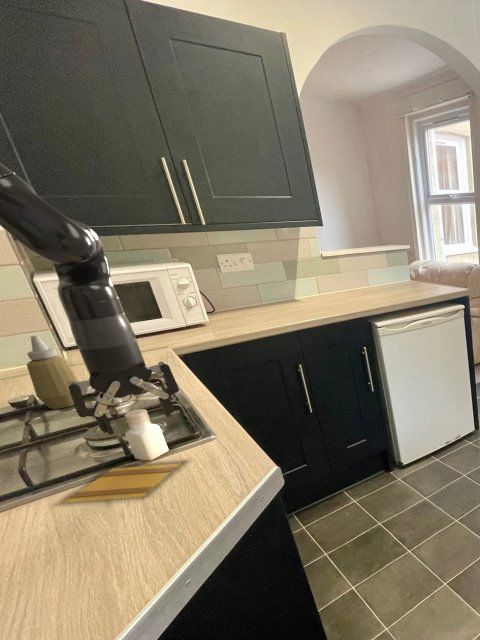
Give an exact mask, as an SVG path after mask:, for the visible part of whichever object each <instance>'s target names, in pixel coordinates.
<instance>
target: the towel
mask: <svg viewBox="0 0 480 640" xmlns="http://www.w3.org/2000/svg"><path fill="white" fill-rule="evenodd" d="M180 465H181V463H169V464H156V465H154V464H153V465H145V466H144V465H143V466H140V465H139V466H129V467H114V468H113V467H112V468H111V469H109V470H108V471H106V472H104V473H103V474H102V475H100V477H98V478H97V479H96V480H94V481H93V482H91V483H90V484H88V485H87V486H86V487H84V488H82V489H80V491H77V492H75V493H74V494H72V496H70V498H69V499H67V500H65V501H64V503H65V504H67V503H78V502H79V503H80V502H92V501H103V500H117V499H131V498H132V499H133V498H143V497H144V496H145V495H146V494H148V493H149V492H150V491H151V490H152V489H153V488H154V487H155V486H157V485H158V484H159V483H160V482H161V481H163V480H164V479H165V478H166V477H167V476H168V475H170V474H171V473H172V472H173V471H174V470H176V469H177V468H178V467H179V466H180Z"/></svg>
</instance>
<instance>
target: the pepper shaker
mask: <svg viewBox="0 0 480 640" xmlns="http://www.w3.org/2000/svg"><path fill="white" fill-rule="evenodd" d="M149 415H150V414H149V413H148V410H147V409H144V408H142V409H141V408H140V409H135V410H134V409H133V410H131V411H129V412H127V413H125V414H124V418H125V421H126V423H127V425H128V427H129V429H128V430H127V431H126V432H125V433H124V435H125V438H126V440H127V442H128V445H129V447H130V450H131V452H132V455H133V456H134V459H135V460H141V461H152V460H154V459H156V458H158V457H160V456H162V455H164V454H165V453H167V452H169V450H170V449H169V447H168V444H167V442H166V439H165V437H164V434H163V431H162V429H161V426H160V425H159V424H156V423H152V422H151V419H150V418H151V417H150V416H149Z"/></svg>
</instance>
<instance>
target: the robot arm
mask: <svg viewBox="0 0 480 640" xmlns="http://www.w3.org/2000/svg"><path fill="white" fill-rule="evenodd" d="M0 227H1V228H3V230H5V231H6V232H7V233H8V234H9V235H11V236H12V237H13V238H14V239H15V240H17V241H18V242H19V243H21V245H23V246H24V247H25V248H27V249H28V250H30V251H32V252H33V253H34V254H36V255H37V256H39V257H41V258H42V259H44V260H46V261H48V262H50V263H52V265H53V267H54V270H55V273H56V275H57V278H58V285H57V294H58V298H59V301H60V303H61V306H62V308H63V310H64V313H65V315H66V318H67V319H68V322H69V326H70V331H71V334H72V336H73V339H74V342H75V345H76V346H77V348H78V351H79V353H80V355H82V356H81V358H83V359H82V361H83V360H84V361H83V363H84V362H85V364H84V366H85V365H86V366H85V368H86V367H87V368H86V370H87V369H88V370H87V372H88V374H89V378H88V380H81V381H79V382H74V381H71V382H69V383H68V384H67V386H68V389H69V392H70V395H71V397H72V400H73V403H74V405H73V406H74V408H75V411H76V413H77V415H78V417H80V418H88V417H92V418H94V419H95V420H96V423H97V425H98V428H99V430H100V431H101V432H102V433H103V434H106V433H107V434H108V435H109V436H110V435H113V434H115V431H114V430H113V427H112V425H111V422H110V420H109V418H108V415H107V414H106V413H105V412H106V410H107V409H108V407H109V406H108V405H110V403H111V401H112V399H113V397H114V398H123V397H126V396H128V395H133V394H134V395H138V394H141V393H142V392H143V391H147V392H149V393H150V394H153V395H154V396H157V397H158V398H157V399H158V402H159V404H160V407H161V411H162V413H163V415H164V416H165V418H170V417H172V414H173V413H174V411H175V409H174V407H173V403H172V401H171V396H172V395H174V394H177V393H179V392H180V387H179V386H178V383H177V381H176V379H175V376H174V374H173V371H172V370H171V368H170V367H171V366H170V365H169V364H167V363H166V362H165V361H159V362H158V363H157V364H155V365H151V366H148V365H147V364H146V362H145V359H144V356H143V354H142V352H141V349H140V346H139V343H138V340H137V338H136V333H135V331H134V329H133V327H132V325H131V322H130V321H129V319H128V317H127V316H126V313H125V312H124V308H123V306H122V304H121V300H120V298H119V296H118V293H117V290H116V288H115V286H114V284H113V281H112V276H111V271H110V266H109V263H108V258H107V254H106V251H105V248H104V245H103V242H102V241H101V238H100V236H99V235H98V233H97V232H96V231H95V230H94V229H93V228H92V227H91V226H89V225H88V224H86V223H84V222H82V221H80V220H78V219H73V218H69V217H67V216H66V215H64V214H63V213H62V212H60V211H59V210H57V209H56V208H55V207H54V206H52V205H51V204H50V203H48V201H47V202H46V201H45V199H43V198H42V197H40V195H38V194H37V192H36V191H35V189H34V188H33V187H32V186H31V185H30V184H29V183H28V182H27V181H26V180H24V178H22V177H21V176H19V174H17V173H15V172H14V171H12V170H11V169H10V168H8V167H7V166H6V165H5V164H4V163H3V162H1V161H0ZM153 373H155V374H156V375H157V376H160V377H162V378H163V380H164V382H165V385H166V387H165V388H163V389H162V388H160V387H158V386H157V385H155V384H153V383H152V382H150V381H149V380H150V379H151V377H152V375H153ZM91 387H92V388H93V389H95V390H97V391H99V394H98V395H97V398H96V400H95V403H94V404H93V406H92V407H87V405H86V402H85V400H84V396H83V395H85V394H87V393H88V388H91Z"/></svg>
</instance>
